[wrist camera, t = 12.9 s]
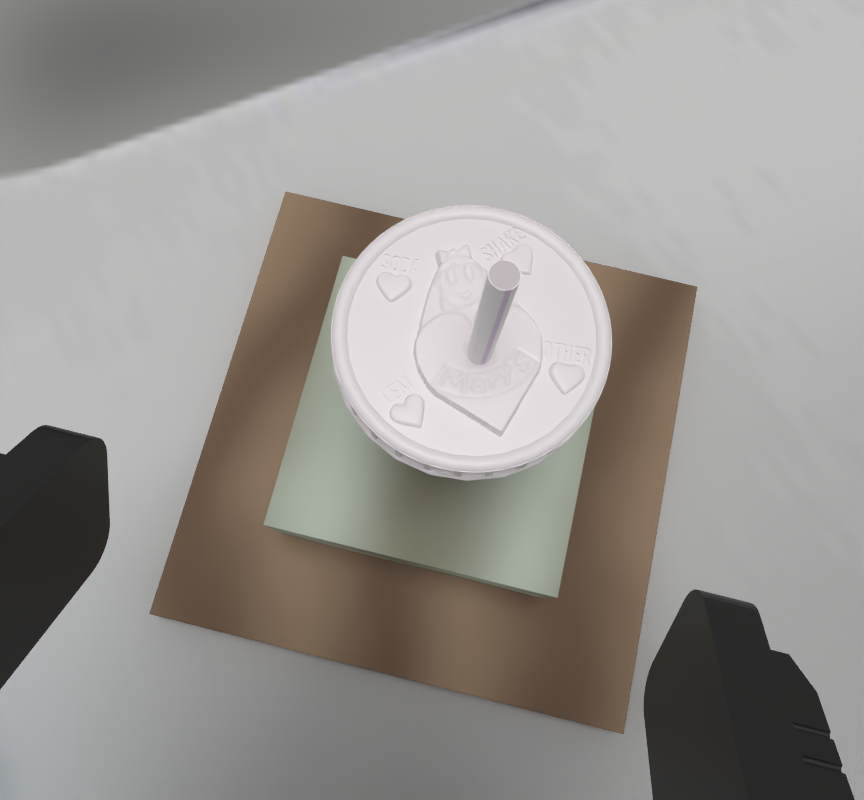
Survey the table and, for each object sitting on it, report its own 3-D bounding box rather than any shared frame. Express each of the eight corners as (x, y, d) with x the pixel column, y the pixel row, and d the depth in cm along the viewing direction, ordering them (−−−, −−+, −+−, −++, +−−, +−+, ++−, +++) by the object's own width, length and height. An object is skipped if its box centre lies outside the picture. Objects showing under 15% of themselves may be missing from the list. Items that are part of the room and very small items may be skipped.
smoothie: (376, 537, 25) (345, 474, 12) (337, 357, 27) (269, 112, 13) (561, 493, 26) (739, 385, 12) (513, 319, 27) (623, 48, 14)
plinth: (687, 297, 33) (736, 244, 28) (614, 728, 29) (657, 757, 24) (290, 205, 34) (268, 137, 29) (159, 613, 29) (107, 617, 24)
